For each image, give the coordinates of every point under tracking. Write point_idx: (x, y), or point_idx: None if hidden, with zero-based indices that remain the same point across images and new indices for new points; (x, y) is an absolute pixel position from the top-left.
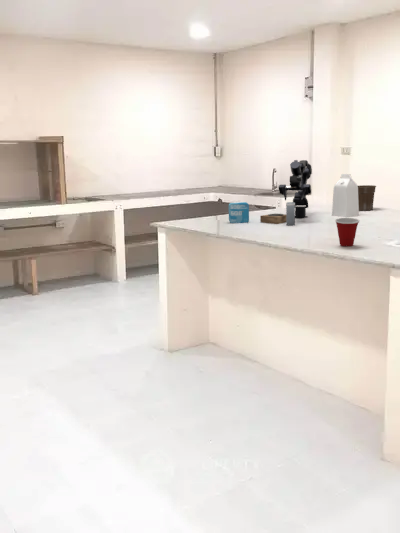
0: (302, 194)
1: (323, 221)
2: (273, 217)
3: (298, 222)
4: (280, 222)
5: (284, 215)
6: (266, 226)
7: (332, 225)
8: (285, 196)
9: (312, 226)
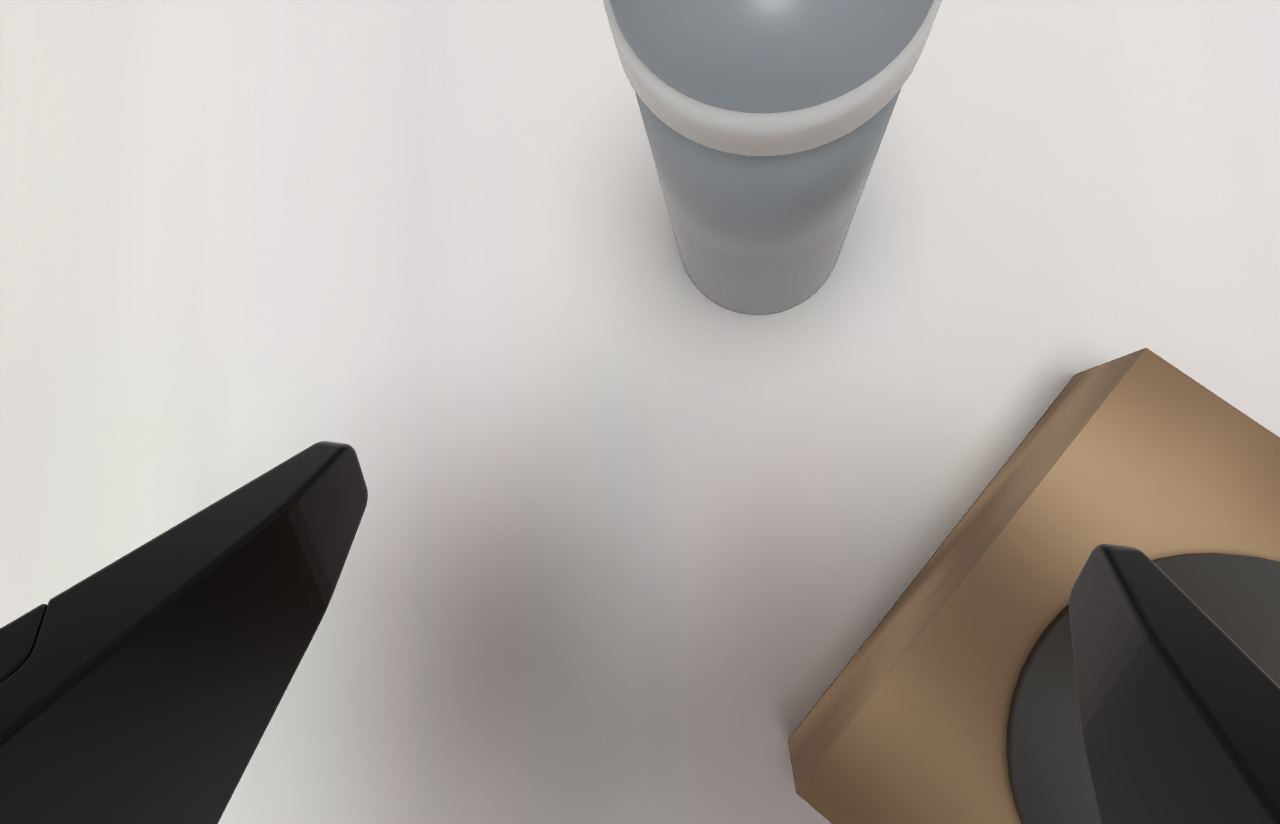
0: (95, 605)
1: None
2: (1222, 403)
3: (627, 599)
4: (999, 479)
5: (965, 703)
6: (1235, 57)
7: (61, 197)
8: (1200, 674)
9: (369, 82)
